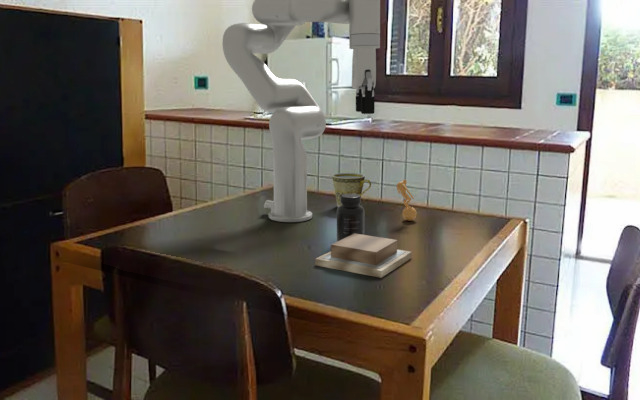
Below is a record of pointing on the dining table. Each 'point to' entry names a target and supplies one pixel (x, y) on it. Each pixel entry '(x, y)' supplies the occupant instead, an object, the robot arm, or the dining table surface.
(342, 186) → the ceramic cup
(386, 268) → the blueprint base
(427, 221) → the dining table surface
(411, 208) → the figurine
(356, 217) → the supplement bottle
